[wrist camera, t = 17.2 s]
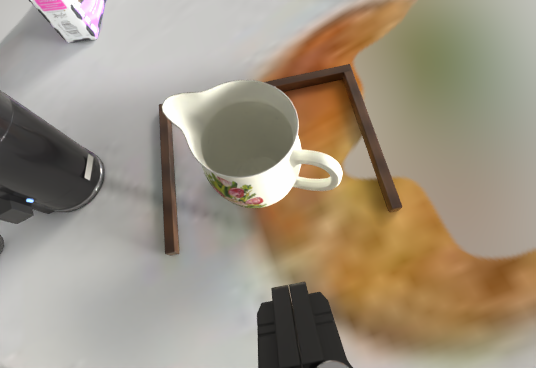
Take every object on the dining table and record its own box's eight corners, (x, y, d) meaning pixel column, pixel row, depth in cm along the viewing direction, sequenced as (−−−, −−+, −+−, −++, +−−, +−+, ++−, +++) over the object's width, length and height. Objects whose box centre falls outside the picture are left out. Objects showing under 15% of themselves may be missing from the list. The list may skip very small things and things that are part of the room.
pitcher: (321, 242, 35) (335, 211, 22) (189, 199, 38) (136, 152, 26) (343, 163, 38) (367, 96, 25) (220, 130, 42) (187, 58, 29)
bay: (398, 210, 35) (402, 207, 34) (170, 255, 36) (164, 253, 35) (348, 71, 43) (349, 63, 42) (163, 110, 44) (158, 104, 43)
